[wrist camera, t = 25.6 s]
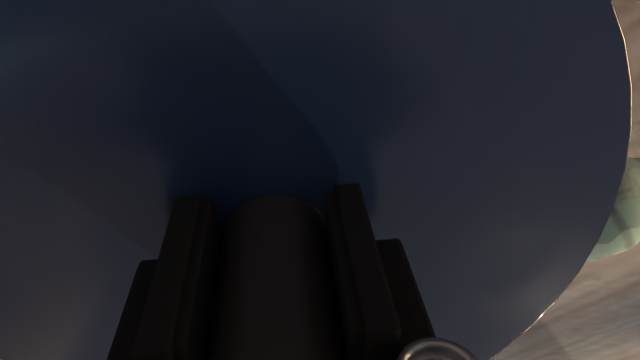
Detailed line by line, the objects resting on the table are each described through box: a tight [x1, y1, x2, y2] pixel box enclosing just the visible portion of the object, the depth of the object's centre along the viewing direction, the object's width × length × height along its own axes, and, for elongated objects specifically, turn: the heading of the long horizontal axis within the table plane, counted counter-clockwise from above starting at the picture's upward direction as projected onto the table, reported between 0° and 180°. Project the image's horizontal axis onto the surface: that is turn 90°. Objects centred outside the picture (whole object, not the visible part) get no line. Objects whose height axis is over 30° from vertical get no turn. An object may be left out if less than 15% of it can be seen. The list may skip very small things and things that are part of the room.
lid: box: [0, 0, 632, 360], centre depth 9 cm, size 16×16×6 cm
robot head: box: [586, 157, 640, 261], centre depth 21 cm, size 8×4×7 cm, turn 125°
